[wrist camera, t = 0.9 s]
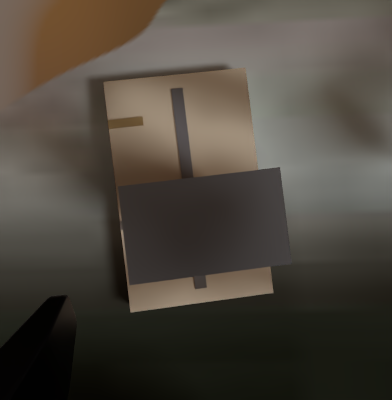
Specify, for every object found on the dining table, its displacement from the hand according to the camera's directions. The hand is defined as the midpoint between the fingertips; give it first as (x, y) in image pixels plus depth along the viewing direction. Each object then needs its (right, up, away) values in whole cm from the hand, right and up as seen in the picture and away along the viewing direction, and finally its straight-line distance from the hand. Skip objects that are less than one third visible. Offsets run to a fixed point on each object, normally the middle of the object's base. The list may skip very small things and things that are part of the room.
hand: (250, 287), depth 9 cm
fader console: (-2, +3, +17) cm, 17 cm away
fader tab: (-2, +1, +15) cm, 15 cm away
